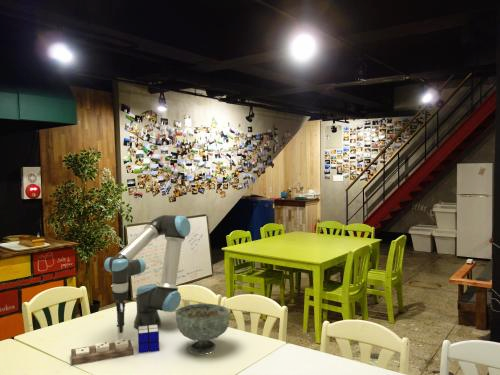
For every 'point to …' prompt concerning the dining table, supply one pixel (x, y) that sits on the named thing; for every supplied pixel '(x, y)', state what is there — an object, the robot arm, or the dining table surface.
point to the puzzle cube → (148, 338)
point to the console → (101, 354)
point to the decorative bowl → (202, 325)
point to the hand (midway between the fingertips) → (120, 338)
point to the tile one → (82, 351)
